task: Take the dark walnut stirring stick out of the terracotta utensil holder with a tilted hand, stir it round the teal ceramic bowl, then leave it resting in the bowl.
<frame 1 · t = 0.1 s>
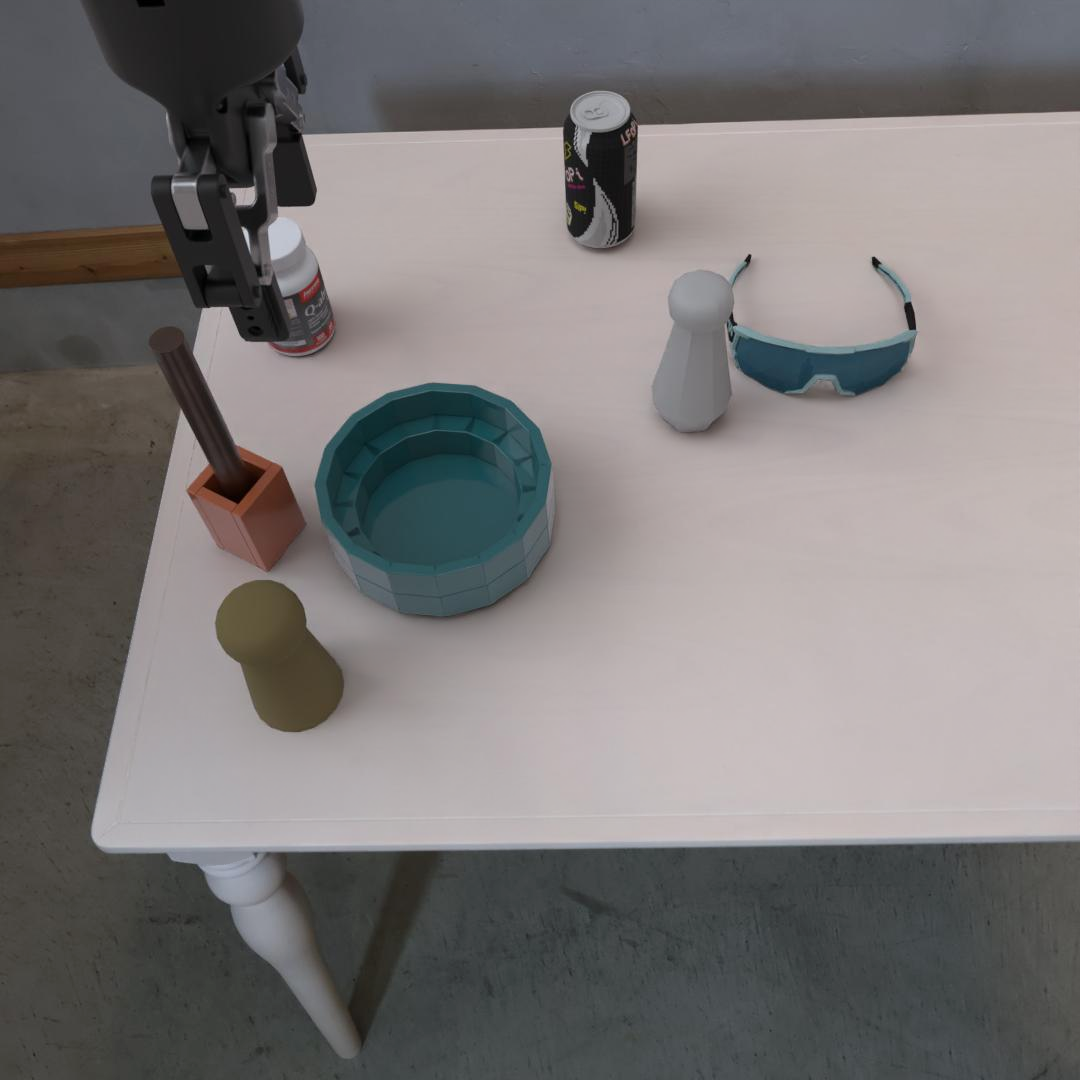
hand: (282, 266, 52), 30 cm above the table, tool pointing down, fingers open, 8 cm apart
stick: (260, 531, 80), resting on holder
sunglasses: (814, 329, 88), on the table
bowl: (444, 522, 80), on the table
holder: (261, 534, 80), on the table
salt shaker: (689, 413, 84), on the table
pill bottle: (301, 333, 91), on the table
cork: (298, 690, 74), on the table
beverage can: (601, 232, 95), on the table
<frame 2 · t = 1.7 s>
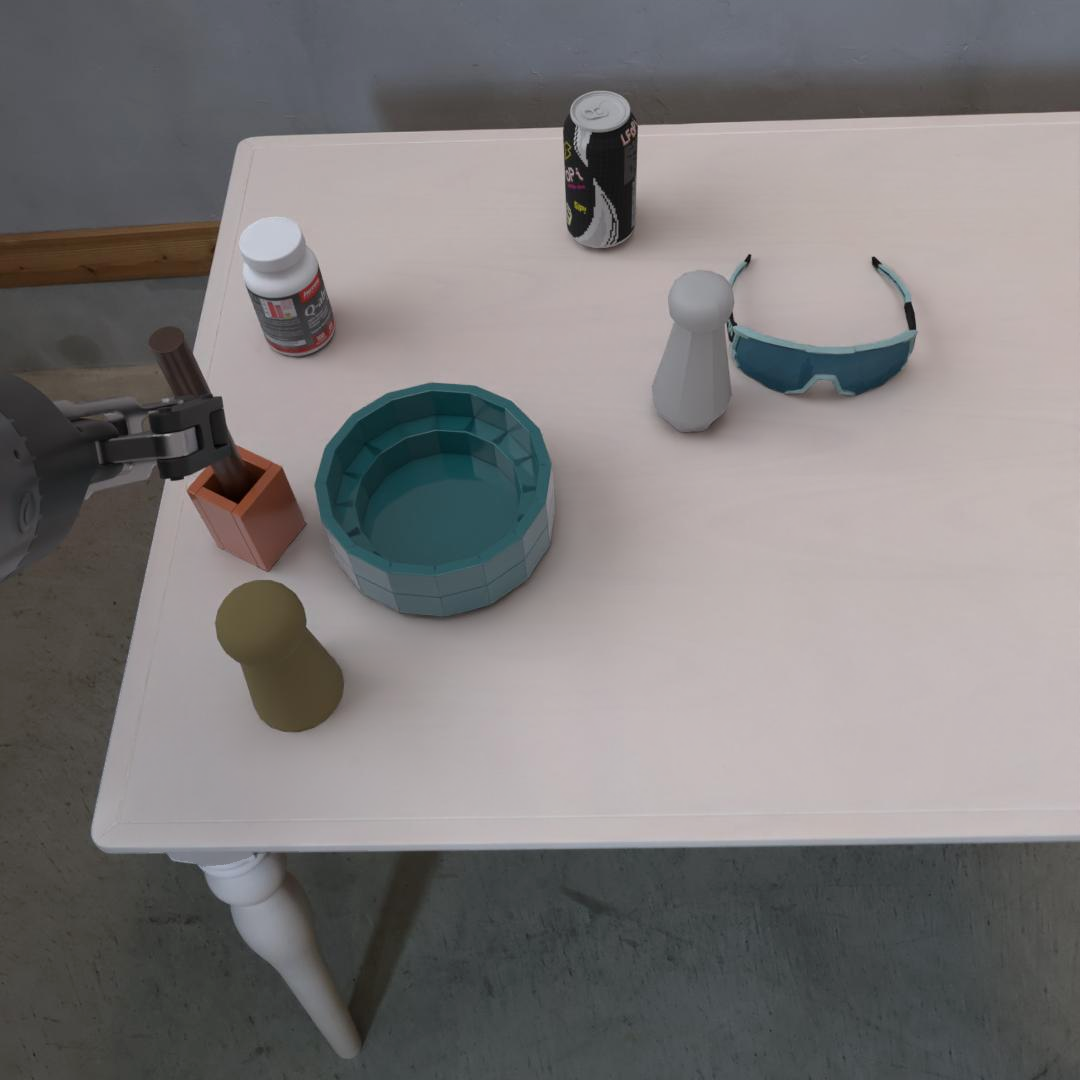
hand: (97, 428, 51), 27 cm above the table, tool tilted 45°, fingers open, 8 cm apart
nothing on the table moved.
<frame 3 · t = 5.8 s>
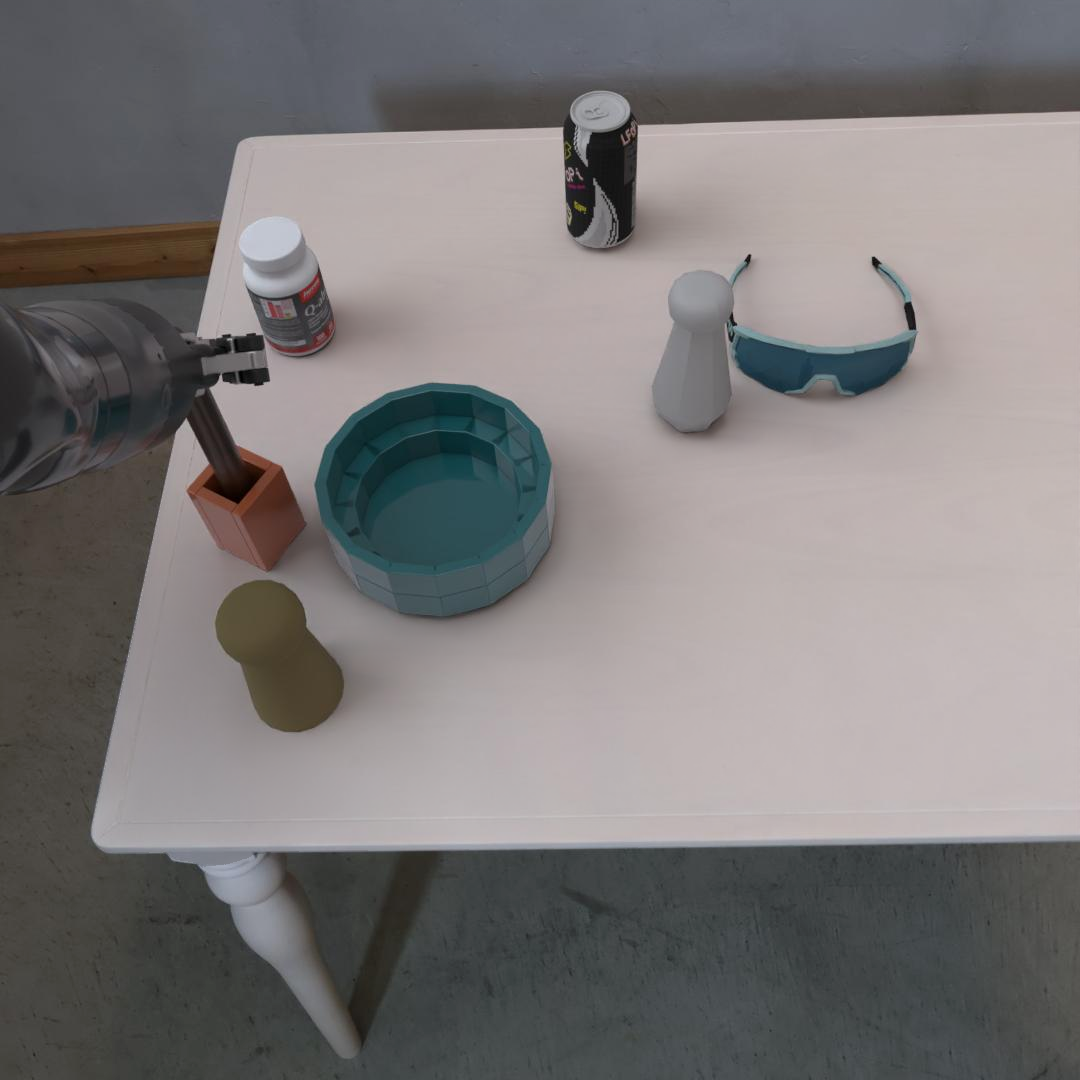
hand: (191, 359, 68), 16 cm above the table, tool tilted 45°, fingers closed on stick, 2 cm apart
stick: (260, 531, 80), point 1 cm above the table, touching gripper, holder
everything else where it was.
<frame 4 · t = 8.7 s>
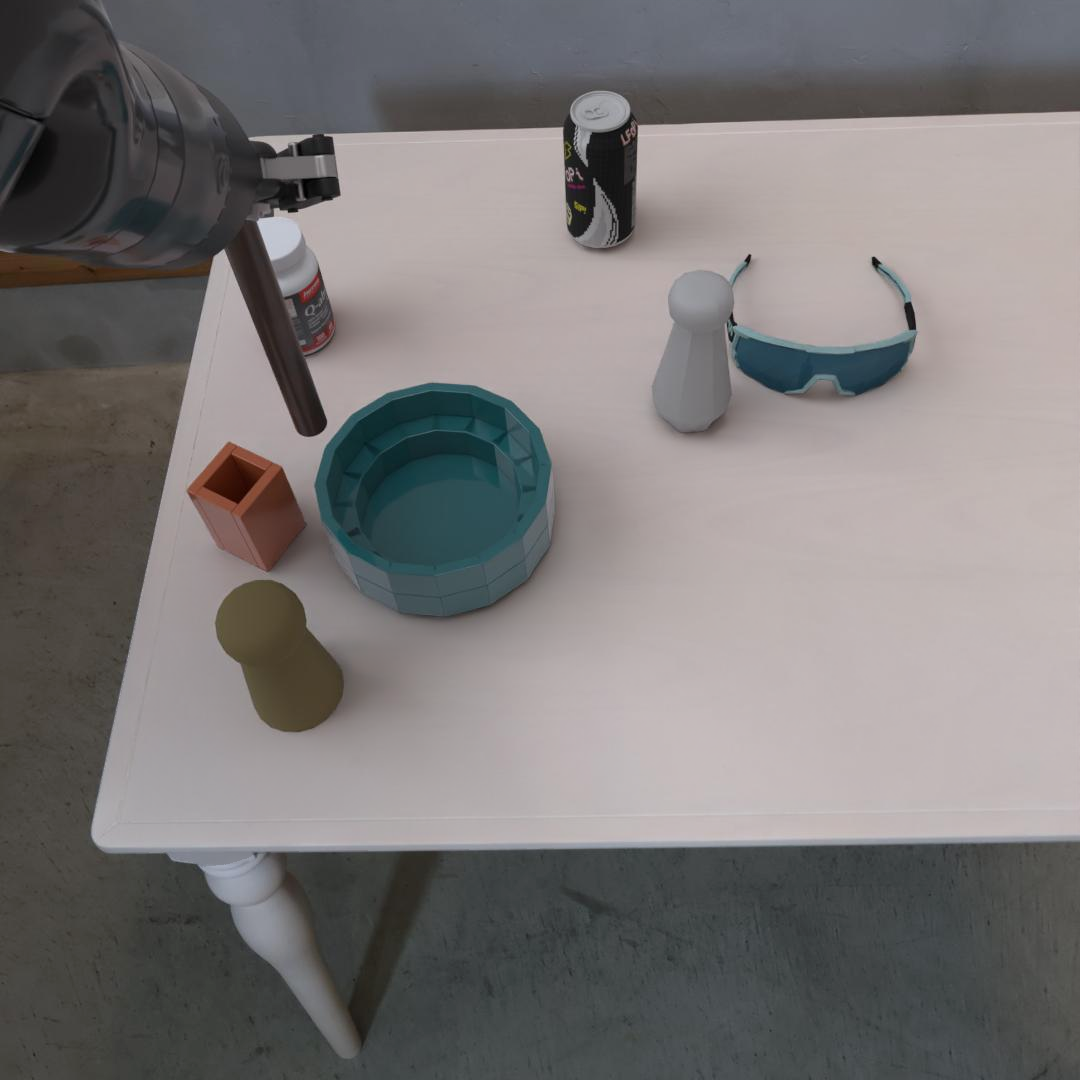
hand: (239, 198, 57), 28 cm above the table, tool tilted 45°, fingers closed on stick
stick: (311, 424, 70), point 12 cm above the table, touching gripper
everything else where it was.
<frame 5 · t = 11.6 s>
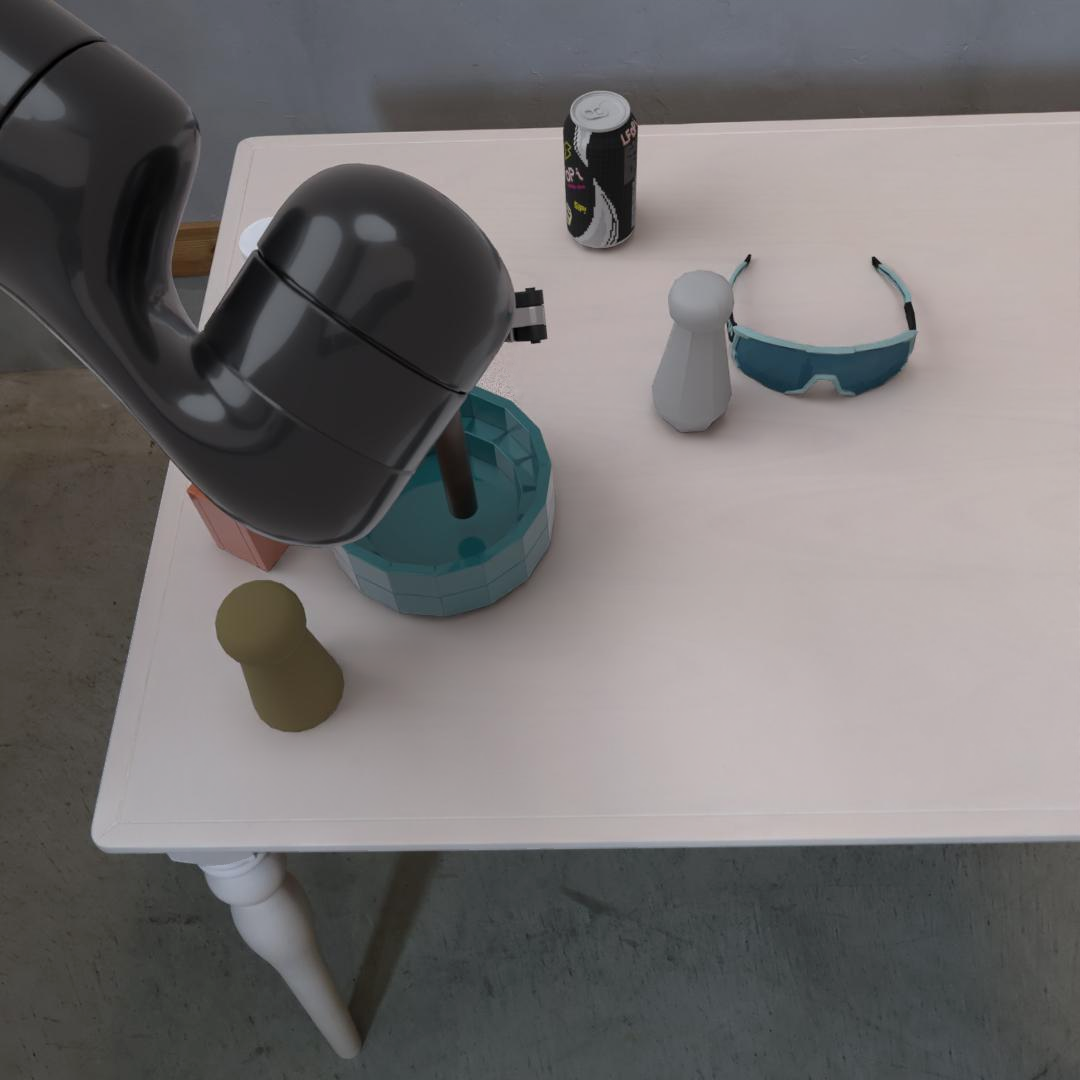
hand: (428, 322, 64), 19 cm above the table, tool tilted 45°, fingers closed on stick, 2 cm apart
stick: (463, 507, 77), point 3 cm above the table, touching gripper
everything else where it was.
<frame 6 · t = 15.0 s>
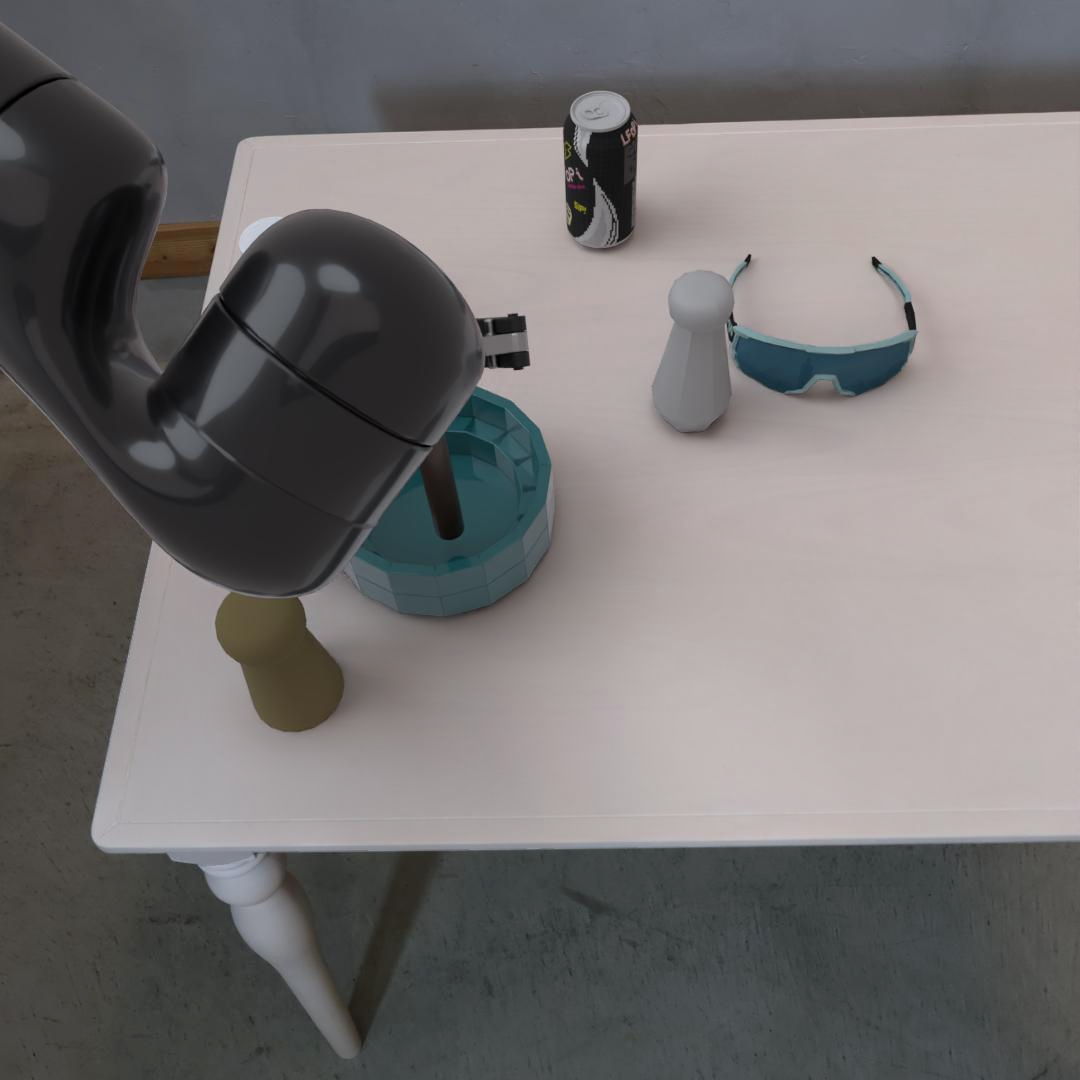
hand: (412, 344, 64), 19 cm above the table, tool tilted 45°, fingers closed on stick, 2 cm apart
stick: (449, 528, 76), point 3 cm above the table, touching gripper
everything else where it was.
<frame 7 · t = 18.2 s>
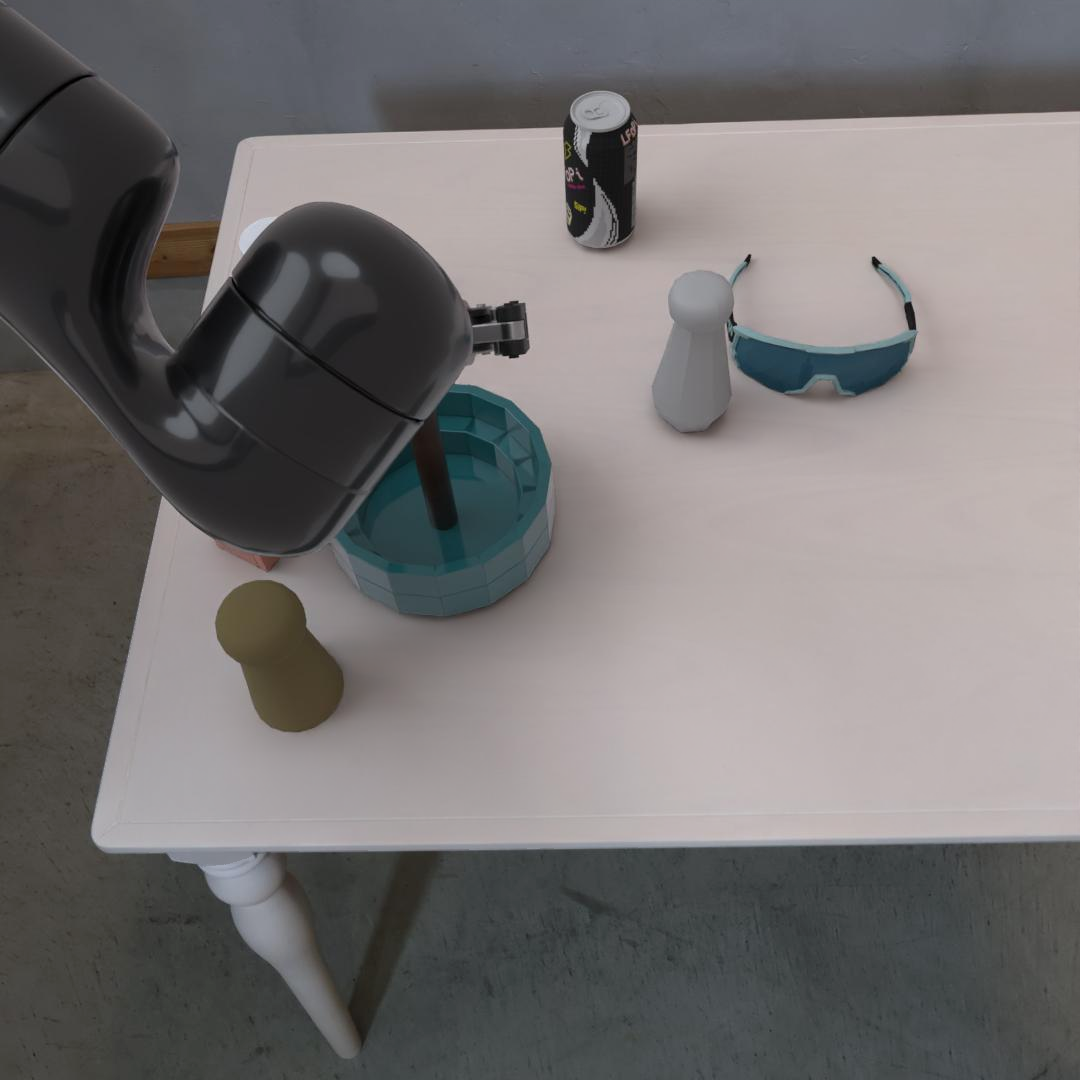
hand: (404, 334, 65), 18 cm above the table, tool tilted 45°, fingers open, 8 cm apart
stick: (443, 518, 80), point 1 cm above the table, touching bowl
everything else where it was.
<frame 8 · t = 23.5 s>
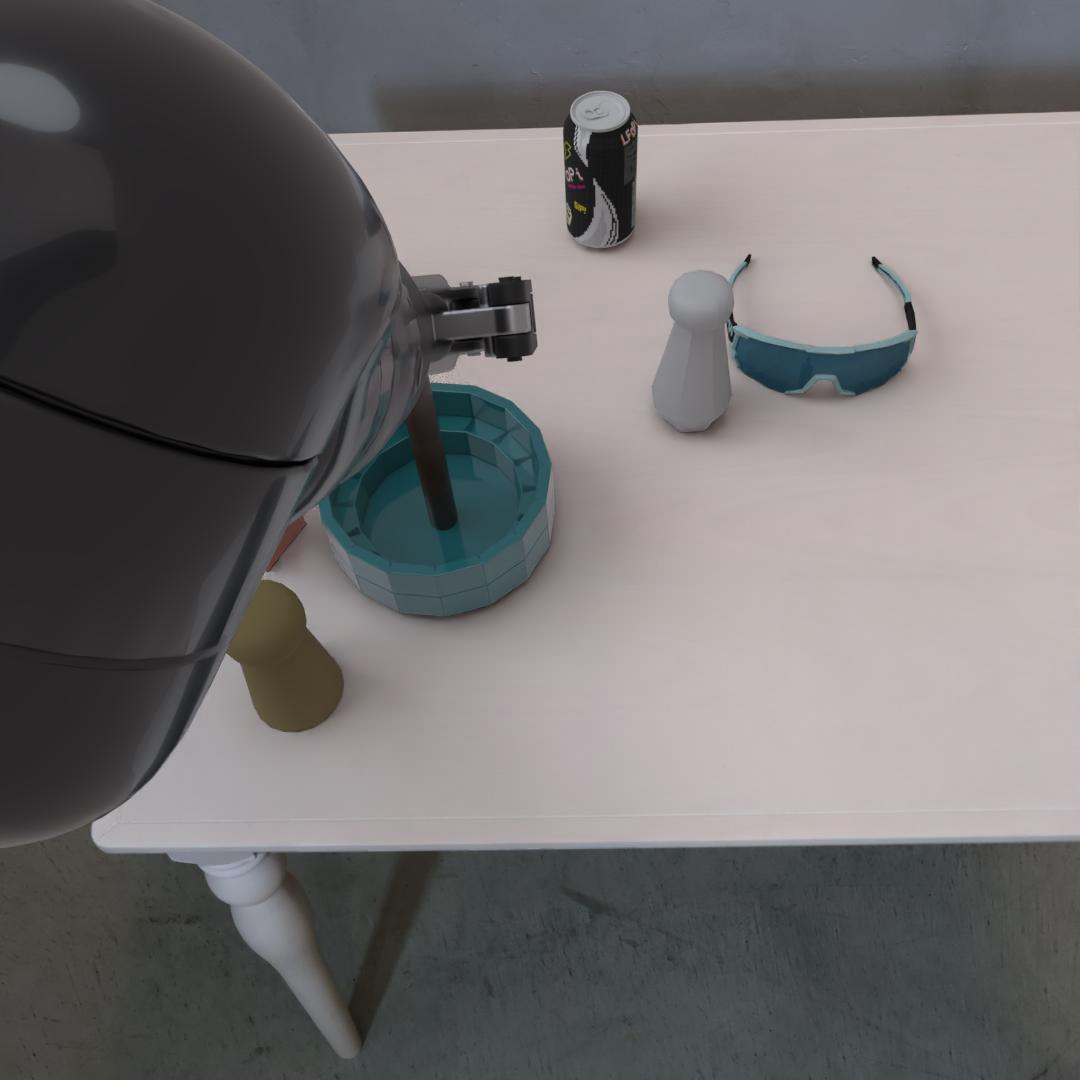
hand: (359, 327, 46), 33 cm above the table, tool tilted 45°, fingers open, 8 cm apart
nothing on the table moved.
at the end: stick inside the target area in the bowl (0.1 cm from its centre), point 0.6 cm above the bowl's base; stick moved 13.1 cm from its start; the gripper is holding nothing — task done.
